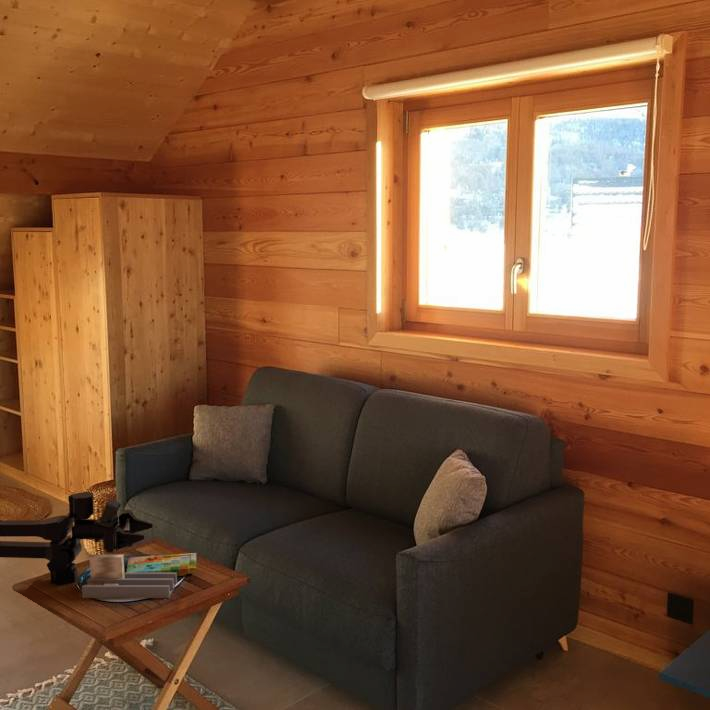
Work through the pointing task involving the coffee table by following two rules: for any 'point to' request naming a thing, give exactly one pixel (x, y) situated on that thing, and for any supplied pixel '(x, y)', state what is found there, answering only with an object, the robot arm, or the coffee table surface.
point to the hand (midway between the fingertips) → (148, 531)
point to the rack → (133, 586)
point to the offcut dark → (95, 583)
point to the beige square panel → (107, 566)
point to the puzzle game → (164, 564)
